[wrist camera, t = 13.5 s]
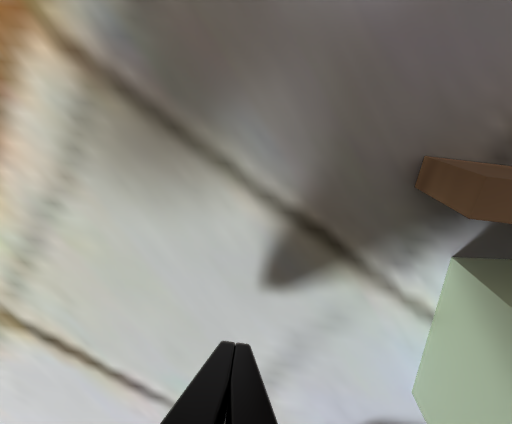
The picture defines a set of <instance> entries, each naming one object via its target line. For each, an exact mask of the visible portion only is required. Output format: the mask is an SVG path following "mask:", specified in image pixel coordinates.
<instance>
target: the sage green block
mask: <svg viewBox="0 0 512 424" xmlns="http://www.w3.org/2000/svg"><path fill="white" fill-rule="evenodd" d="M412 394H413V396H414V398H415V400H416V402H417V405H418V407H419V409H420V411H421V413H422V415H423V417H424V419H425V421H426V423H427V424H512V259H489V258H461V257H451V260H450V264H449V267H448V271H447V274H446V277H445V281H444V284H443V287H442V291H441V294H440V298H439V301H438V304H437V308H436V311H435V315H434V318H433V321H432V325H431V328H430V331H429V335H428V338H427V342H426V345H425V348H424V352H423V355H422V359H421V362H420V365H419V369H418V372H417V376H416V379H415V382H414V386H413V389H412Z"/></svg>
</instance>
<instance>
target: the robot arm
mask: <svg viewBox="0 0 512 424" xmlns="http://www.w3.org/2000/svg"><path fill="white" fill-rule="evenodd" d="M225 418H226V420H225ZM160 424H278V423H277V420H276V417H275V414H274V411H273V409H272V406H271V403H270V400H269V397H268V395H267V392H266V389H265V386H264V383H263V380H262V378H261V375H260V372H259V369H258V366H257V363H256V361H255V358H254V355H253V352H252V349H251V347H250V345H249V344H244V343H236V345H235V343H234V342H229V341H221V342H220V344H219V345H218V346H217V348H216V349H215V350H214V352H213V353H212V354H211V356H210V357H209V358H208V360H207V361H206V362H205V364H204V365H203V367H202V368H201V369H200V371H199V372H198V373H197V375H196V376H195V377H194V379H193V380H192V381H191V383H190V384H189V386H188V387H187V388H186V390H185V391H184V392H183V394H182V395H181V396H180V398H179V399H178V400H177V402H176V403H175V404H174V406H173V407H172V409H171V410H170V411H169V413H168V414H167V415H166V417H165V418H164V419H163V421H162V422H161V423H160Z"/></svg>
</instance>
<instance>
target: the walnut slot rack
mask: <svg viewBox="0 0 512 424" xmlns="http://www.w3.org/2000/svg"><path fill="white" fill-rule="evenodd" d="M415 188H417V189H418V190H420V191H422V192H424V193H425V194H427V195H429V196H431V197H432V198H434V199H436V200H438V201H439V202H441V203H443V204H445V205H446V206H448V207H450V208H451V209H453V210H455V211H457V212H458V213H460V214H462V215H464V216H465V217H467V218H469V219H476V220H484V221H492V222H501V223H509V224H512V166H506V165H497V164H489V163H480V162H472V161H463V160H455V159H446V158H438V157H429V156H424V159H423V163H422V166H421V169H420V172H419V175H418V178H417V181H416V184H415Z"/></svg>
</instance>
